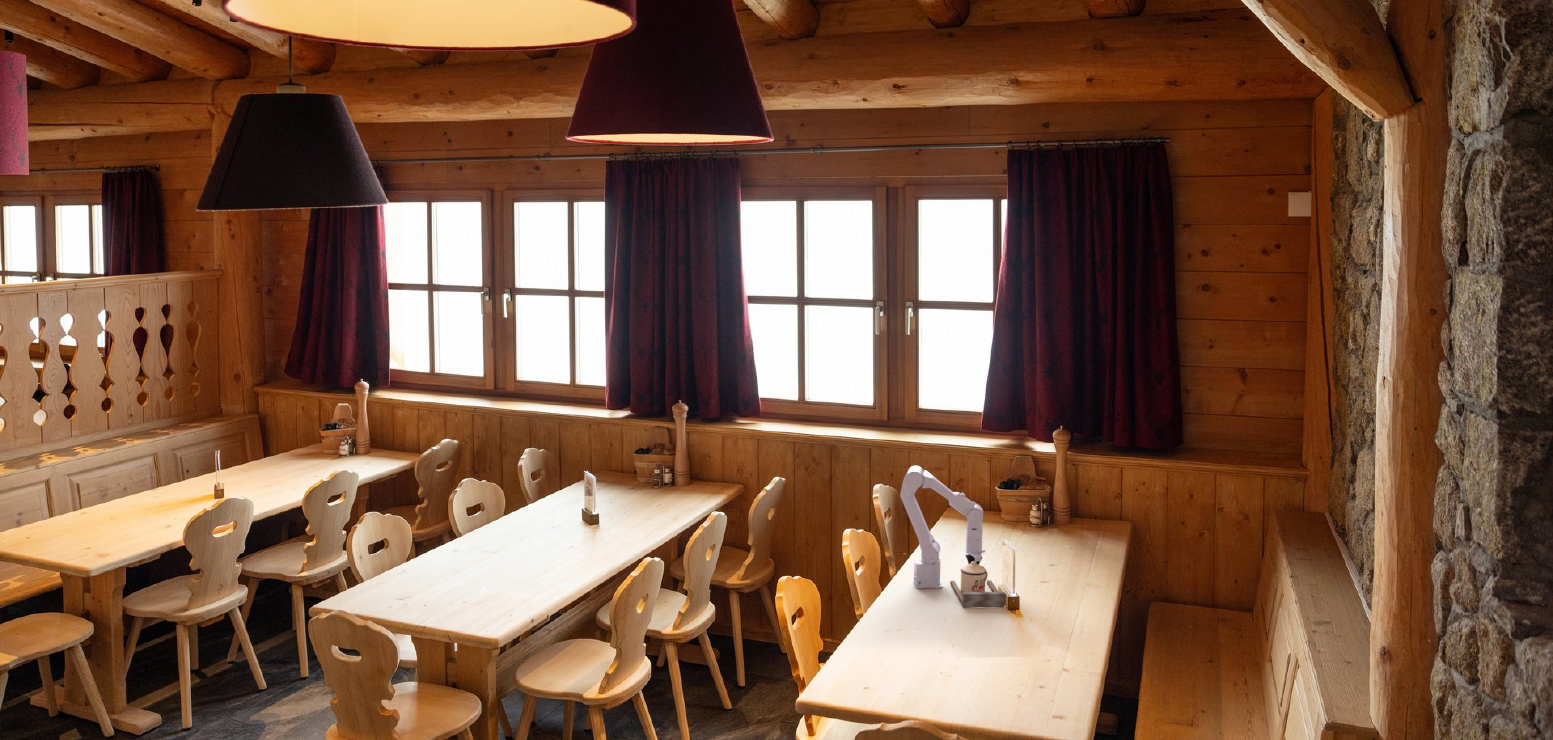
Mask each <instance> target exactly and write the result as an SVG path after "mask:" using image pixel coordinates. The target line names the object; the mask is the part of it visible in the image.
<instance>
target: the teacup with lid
mask: <svg viewBox="0 0 1553 740" xmlns="http://www.w3.org/2000/svg"><path fill="white" fill-rule="evenodd" d="M960 572H961V573H960V591H961V593H962V592H986V583H987V580H988V575H989V574H988V571H987V569H986V568H985V567H984V566H982V565H981V564H979V565H978V564H977V563H976V562H975V561H972V562H971V564H964V565H962V566H961V568H960Z"/></svg>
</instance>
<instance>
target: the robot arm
mask: <svg viewBox="0 0 1553 740" xmlns="http://www.w3.org/2000/svg"><path fill="white" fill-rule="evenodd" d="M920 487H922V489H932V490H933V491H935V492H936V493H937V494H939V495H941V496H942V497H943V498H945V499H947V500H948V505H949V506H950V507H952V508H953V509H954V510H956V511H957V512H959V513H960V515H962V516H965V517H966V520H967V524H966V532H965V533H966V535H965V536H966V538H965V539H966V540H965V541H966V542H965V553H966V554H965V555H964V556H965V558H966V560H967V563H968V564H971V562H972V561H975V562H976V563H977V564H978V565H980V563H981V561H982V560H983V556H982V555H983V553H986V549H984V548H983V529H984V528H983V520H984V510H983V508H982V506H981V505H980V504H979V503H976V502H975V501H972V500H970V499H968V497H966V494H965V493H964V492H962V493H961V492H959V491H952V490H951V489H950V488H949V487H947V486H946V485H945V484H944V483H942V482H941V481H940V480H938V478H937V477H935V476H934V475H933V474H931V473H930V472H929V471H927V470H925V469H924V468H922V467H921V466H919V465H912V466H910V467H909V468H908V469H907V472H906V473H905V475H904V478H903V481H902V484H901V490H900V493H899V494H900V499H901V502H902V503H903V506H904V509H905V511H906V513H907V515H908V518H909V520H910V523H911V525H912V527H913V530H914V532H915V535H916V536H917V539H918V543H919V547H920V549H921V555H920V556H921V558H920V560H917V561H914V563H913V565H914V566H913V583H914V586H915V587H916V588H917V589H933V588H934V589H942V588H943V584H942V583H941V559H940V552H941V546H940V544H939V542H938V541H936V540H935V538H934V536H933V535H932V533H931V531H930V529H929V527H928V524H927V522H926V520H925V517H924V515H923V512H922V510H921V507H920V506H919V503H918V501H917V498H916V496H915V494H916V492H917V490H918V489H919V488H920ZM968 564H967V565H968Z"/></svg>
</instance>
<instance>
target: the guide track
mask: <svg viewBox="0 0 1553 740" xmlns="http://www.w3.org/2000/svg"><path fill="white" fill-rule="evenodd" d="M950 584H951V585H950ZM949 585H950V586H951V588H952V590H953V592H954V594H955V596H956V598H957V597H958V598H957V599H958V601H959V603H960V605H961V607H962V606H963V607H962V608H963V609H972V608H971V607H1004V606H1005V605H1006V606H1007V595H1006V594H1007V592H1006V591H999V590H998V589H997V587H996V586H995V584H994V583H993V581H992V579H991V580H989V579H987V580H986V585H987V587H988V586H989V587H988V588H989V590H990V589H991V590H990V591H985V592H962V593H961V589H960V588H959V586H958V585H957V583H956V581H955V580H950V583H949ZM991 591H992V592H991ZM1005 592H1006V593H1005ZM969 607H970V608H969Z"/></svg>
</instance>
